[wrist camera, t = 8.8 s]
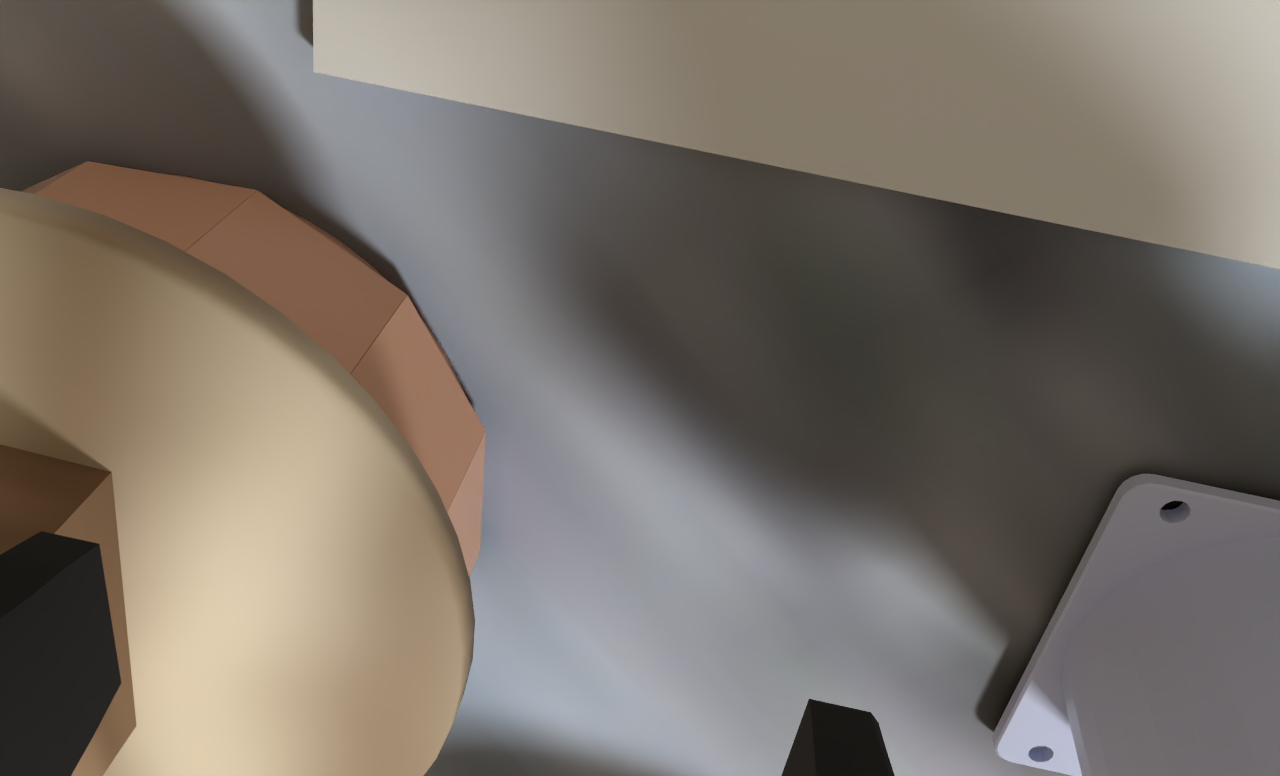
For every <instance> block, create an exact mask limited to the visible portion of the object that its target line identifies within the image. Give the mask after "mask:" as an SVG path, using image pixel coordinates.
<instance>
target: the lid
mask: <svg viewBox="0 0 1280 776" xmlns="http://www.w3.org/2000/svg"><path fill="white" fill-rule="evenodd" d="M41 531H43V532H48V533H52V534H57V535H62V536H66V537H71V538H75V539H80V540H84V541H89V542H94V543H98V544H100V550H101V556H102V563H103V569H104V575H105V582H106V588H107V594H108V601H109V607H110V613H111V620H112V626H113V633H114V639H115V645H116V652H117V658H118V664H119V671H120V677H121V685H120V687H119V689H118V691H117V692H116V694H115V696H114V698H113V700H112V702H111V704H110V706H109V708H108V710H107V711H106V713H105V715H104V717H103V719H102V721H101V723H100V725H99V727H98V729H97V730H96V732H95V734H94V736H93V738H92V740H91V741H90V743H89V745H88V747H87V748H86V750H85V752H84V754H83V756H82V757H81V759H80V761H79V763H78V764H77V766H76V768H75V770H74V771H73V773H72V775H71V776H424V774H425V773H426V772H427V771H428V769H429V768H430V767H431V765H432V764H433V763H434V761H435V760H436V758H437V756H438V754H439V752H440V750H441V748H442V746H443V744H444V742H445V740H446V738H447V736H448V733H449V731H450V729H451V727H452V724H453V721H454V719H455V716H456V713H457V711H458V708H459V705H460V702H461V700H462V697H463V694H464V691H465V687H466V683H467V679H468V675H469V671H470V667H471V663H472V659H473V644H474V627H475V618H474V609H473V601H472V592H471V583H470V578H469V574H468V571H467V567H466V564H465V560H464V557H463V553H462V549H461V546H460V542H459V539H458V536H457V533H456V531H455V529H454V527H453V524H452V522H451V520H450V518H449V515H448V513H447V511H446V508H445V506H444V504H443V502H442V499H441V497H440V495H439V493H438V491H437V489H436V487H435V486H434V484H433V482H432V481H431V479H430V477H429V476H428V474H427V472H426V471H425V469H424V467H423V466H422V464H421V462H420V461H419V459H418V458H417V456H416V454H415V453H414V451H413V449H412V448H411V446H410V444H409V443H408V442H407V441H406V439H405V438H404V437H403V435H402V434H401V433H400V432H399V430H398V429H397V428H396V426H395V425H394V424H393V423H392V421H391V420H390V419H389V417H388V416H387V415H386V414H385V412H384V411H383V410H382V408H381V407H380V406H379V405H378V403H377V402H376V401H375V399H374V398H373V397H372V396H371V395H370V394H369V393H368V392H367V391H366V390H365V389H364V388H363V387H362V386H361V385H360V384H359V383H358V382H357V381H356V380H355V379H354V378H353V377H352V376H351V374H350V373H349V372H348V371H347V370H346V369H345V368H344V367H343V366H342V365H341V364H340V363H339V362H338V361H337V360H336V359H335V358H334V357H333V356H332V355H331V354H330V353H329V352H328V351H327V350H325V349H324V348H323V347H322V346H321V345H319V344H318V343H317V342H316V341H315V340H313V339H312V338H311V337H310V336H309V335H308V334H306V333H305V332H304V331H303V330H302V329H300V328H299V327H298V326H297V325H296V324H294V323H293V322H292V321H291V320H290V319H289V318H287V317H286V316H285V315H284V314H283V313H281V312H280V311H279V310H277V309H276V308H274V307H273V306H271V305H270V304H268V303H267V302H265V301H264V300H263V299H261V298H260V297H258V296H257V295H255V294H254V293H252V292H251V291H249V290H248V289H247V288H245V287H244V286H242V285H241V284H239V283H238V282H236V281H235V280H233V279H232V278H230V277H229V276H228V275H226V274H225V273H223V272H221V271H219V270H217V269H215V268H214V267H212V266H210V265H208V264H206V263H204V262H203V261H201V260H199V259H197V258H195V257H194V256H192V255H190V254H188V253H186V252H184V251H183V250H181V249H179V248H177V247H175V246H173V245H172V244H170V243H168V242H166V241H164V240H162V239H159V238H157V237H155V236H152V235H150V234H148V233H145V232H143V231H141V230H138V229H136V228H133V227H131V226H129V225H126V224H124V223H122V222H119V221H117V220H115V219H112V218H110V217H108V216H105V215H103V214H100V213H96V212H93V211H90V210H87V209H83V208H80V207H77V206H73V205H70V204H67V203H63V202H60V201H57V200H54V199H50V198H47V197H44V196H40V195H36V194H31V193H25V192H20V191H14V190H9V189H3V188H0V555H1V554H2V553H4V552H6V551H7V550H9V549H11V548H13V547H14V546H16V545H18V544H19V543H21V542H23V541H25V540H26V539H28V538H30V537H32V536H34V535H35V534H37V533H39V532H41Z"/></svg>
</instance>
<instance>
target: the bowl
mask: <svg viewBox="0 0 1280 776" xmlns="http://www.w3.org/2000/svg"><path fill="white" fill-rule="evenodd" d="M20 192H25V193H31V194H36V195H40V196H44V197H47V198H50V199H54V200H57V201H60V202H63V203H67V204H70V205H73V206H77V207H80V208H83V209H87V210H90V211H93V212H96V213H100V214H103V215H105V216H108V217H110V218H112V219H115V220H117V221H119V222H122V223H124V224H126V225H129V226H131V227H133V228H136V229H138V230H141V231H143V232H145V233H148V234H150V235H152V236H155V237H157V238H159V239H162V240H164V241H166V242H168V243H170V244H172V245H173V246H175V247H177V248H179V249H181V250H183V251H184V252H186V253H188V254H190V255H192V256H194V257H195V258H197V259H199V260H201V261H203V262H204V263H206V264H208V265H210V266H212V267H214V268H215V269H217V270H219V271H221V272H223V273H225V274H226V275H228V276H229V277H230V278H232V279H233V280H235V281H236V282H238V283H239V284H241V285H242V286H244V287H245V288H247V289H248V290H249V291H251V292H252V293H254V294H255V295H257V296H258V297H260V298H261V299H263V300H264V301H265V302H267V303H268V304H270V305H271V306H273V307H274V308H276V309H277V310H279V311H280V312H281V313H283V314H284V315H285V316H286V317H287V318H289V319H290V320H291V321H292V322H293V323H294V324H296V325H297V326H298V327H299V328H300V329H302V330H303V331H304V332H305V333H306V334H308V335H309V336H310V337H311V338H312V339H313V340H315V341H316V342H317V343H318V344H319V345H321V346H322V347H323V348H324V349H325V350H327V351H328V352H329V353H330V354H331V355H332V356H333V357H334V358H335V359H336V360H337V361H338V362H339V363H340V364H341V365H342V366H343V367H344V368H345V369H346V370H347V371H348V372H349V373H350V374H351V376H352V377H353V378H354V379H355V380H356V381H357V382H358V383H359V384H360V385H361V386H362V387H363V388H364V389H365V390H366V391H367V392H368V393H369V394H370V395H371V396H372V397H373V398H374V399H375V401H376V402H377V403H378V405H379V406H380V407H381V408H382V410H383V411H384V412H385V414H386V415H387V416H388V417H389V419H390V420H391V421H392V423H393V424H394V425H395V426H396V428H397V429H398V430H399V432H400V433H401V434H402V435H403V437H404V438H405V439H406V441H407V442H408V443H409V444H410V446H411V448H412V449H413V451H414V453H415V454H416V456H417V458H418V459H419V461H420V462H421V464H422V466H423V467H424V469H425V471H426V472H427V474H428V476H429V477H430V479H431V481H432V482H433V484H434V486H435V487H436V489H437V491H438V493H439V495H440V497H441V499H442V502H443V504H444V506H445V508H446V511H447V513H448V515H449V518H450V520H451V522H452V524H453V527H454V529H455V531H456V533H457V536H458V539H459V542H460V546H461V549H462V553H463V557H464V560H465V564H466V567H467V571H468V574H469V577H470V575H471V572H472V570H473V568H474V565H475V563H476V560H477V558H478V555H479V553H480V544H481V522H482V500H483V478H484V456H485V435H486V431H485V429H484V427H483V425H482V424H481V422H480V420H479V418H478V417H477V415H476V413H475V411H474V410H473V408H472V406H471V404H470V403H469V401H468V399H467V398H466V396H465V394H464V391H463V388H462V386H461V384H460V382H459V380H458V378H457V376H456V374H455V372H454V369H453V367H452V365H451V363H450V361H449V359H448V357H447V355H446V354H445V352H444V351H443V349H442V348H441V346H440V345H439V343H438V342H437V340H436V339H435V337H434V335H433V334H432V332H431V331H430V329H429V328H428V326H427V325H426V323H425V322H424V321H423V320H422V319H421V317H420V316H419V314H418V312H417V311H416V309H415V307H414V305H413V304H412V302H411V300H410V298H409V297H408V295H407V294H406V293H404V292H403V291H401V290H400V289H399V288H397V287H396V286H394V285H393V284H391V283H390V282H389V281H387V280H386V279H385V278H384V277H383V276H382V275H381V274H380V273H379V272H378V271H377V270H376V269H375V268H374V267H373V266H372V265H370V264H369V263H368V262H366V261H365V260H364V259H363V258H361V257H360V256H359V255H357V254H356V253H355V252H354V251H352V250H351V249H350V248H348V247H347V246H346V245H345V244H343V243H342V242H341V241H339V240H338V239H336V238H335V237H333V236H332V235H330V234H328V233H327V232H325V231H324V230H322V229H320V228H319V227H317V226H316V225H314V224H312V223H311V222H309V221H307V220H306V219H304V218H303V217H301V216H298V215H296V214H294V213H292V212H290V211H288V210H286V209H284V208H282V207H281V206H279V205H278V204H277V203H275V202H274V201H272V200H271V199H269V198H268V197H267V196H265V195H264V194H262V193H261V192H259V191H258V190H254V189H249V188H243V187H237V186H231V185H225V184H219V183H214V182H210V181H205V180H201V179H197V178H192V177H188V176H181V175H171V174H162V173H154V172H149V171H143V170H137V169H131V168H125V167H119V166H113V165H107V164H101V163H96V162H90V161H86V162H84V163H82V164H80V165H78V166H75V167H73V168H71V169H69V170H66V171H64V172H62V173H60V174H57V175H55V176H53V177H51V178H48V179H46V180H44V181H42V182H40V183H37V184H35V185H33V186H31V187H28V188H26V189H24V190H22V191H20Z"/></svg>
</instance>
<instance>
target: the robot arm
mask: <svg viewBox="0 0 1280 776" xmlns="http://www.w3.org/2000/svg"><path fill="white" fill-rule="evenodd" d="M1171 501H1182V502H1183V503H1182V504H1181V505H1180V506H1179V507H1177V508H1175V509H1172V510H1163V509H1161V508H1162V507H1163V506H1164V505H1165V504H1166V503H1169V502H1171ZM120 685H121V677H120V671H119V664H118V658H117V652H116V645H115V639H114V633H113V626H112V620H111V613H110V607H109V601H108V594H107V588H106V582H105V575H104V569H103V563H102V556H101V550H100V544H98V543H94V542H89V541H84V540H80V539H75V538H71V537H66V536H62V535H57V534H52V533H48V532H43V531H41V532H39V533H37V534H35V535H34V536H32V537H30V538H28V539H26V540H25V541H23V542H21V543H19V544H18V545H16V546H14V547H13V548H11V549H9V550H7V551H6V552H4V553H2V554H1V555H0V776H71V775H72V773H73V771H74V770H75V768H76V766H77V764H78V763H79V761H80V759H81V757H82V756H83V754H84V752H85V750H86V748H87V747H88V745H89V743H90V741H91V740H92V738H93V736H94V734H95V732H96V730H97V729H98V727H99V725H100V723H101V721H102V719H103V717H104V715H105V713H106V711H107V710H108V708H109V706H110V704H111V702H112V700H113V698H114V696H115V694H116V692H117V691H118V689H119V687H120ZM993 742H994V748H995V750H996V753H997V754H998V755H999V756H1000V757H1001V758H1002V759H1005V760H1007V761H1010V762H1014V763H1018V764H1023V765H1027V766H1032V767H1036V768H1040V769H1045V770H1049V771H1054V772H1058V773H1063V774H1067V775H1072V776H1280V501H1278V500H1274V499H1269V498H1264V497H1260V496H1255V495H1250V494H1245V493H1241V492H1236V491H1231V490H1227V489H1222V488H1217V487H1212V486H1208V485H1203V484H1198V483H1194V482H1189V481H1184V480H1179V479H1175V478H1170V477H1165V476H1161V475H1156V474H1140V475H1136V476H1132V477H1130V478H1129V479H1127V480H1125V481H1124V482H1123V483H1122V484H1121V485H1120V486H1119V488H1118V489H1117V491H1116V493H1115V495H1114V497H1113V498H1112V500H1111V502H1110V504H1109V506H1108V508H1107V510H1106V512H1105V514H1104V516H1103V518H1102V520H1101V522H1100V524H1099V526H1098V528H1097V530H1096V532H1095V534H1094V536H1093V538H1092V540H1091V542H1090V544H1089V546H1088V548H1087V550H1086V552H1085V554H1084V556H1083V557H1082V559H1081V561H1080V563H1079V565H1078V567H1077V569H1076V571H1075V573H1074V575H1073V577H1072V579H1071V581H1070V583H1069V585H1068V587H1067V589H1066V591H1065V593H1064V595H1063V597H1062V599H1061V601H1060V603H1059V605H1058V607H1057V609H1056V611H1055V613H1054V614H1053V616H1052V618H1051V620H1050V622H1049V624H1048V626H1047V628H1046V630H1045V632H1044V634H1043V636H1042V638H1041V640H1040V642H1039V644H1038V646H1037V648H1036V650H1035V652H1034V654H1033V656H1032V658H1031V660H1030V662H1029V664H1028V666H1027V668H1026V670H1025V672H1024V673H1023V675H1022V677H1021V679H1020V681H1019V683H1018V685H1017V687H1016V689H1015V691H1014V693H1013V695H1012V697H1011V699H1010V701H1009V703H1008V705H1007V707H1006V709H1005V711H1004V713H1003V715H1002V717H1001V719H1000V721H999V723H998V725H997V727H996V729H995V731H994V734H993ZM1037 746H1044V747H1041V748H1037ZM782 776H894V773H893V770H892V767H891V764H890V760H889V757H888V754H887V751H886V747H885V744H884V741H883V737H882V734H881V730H880V727H879V723H878V722H877V720H876V719H875V718H874V716H873V715H872V713H871V712H866V711H862V710H857V709H853V708H848V707H844V706H839V705H834V704H830V703H825V702H821V701H816V700H812V699H809V701H808V704H807V706H806V709H805V712H804V715H803V718H802V720H801V723H800V726H799V729H798V731H797V734H796V737H795V740H794V743H793V745H792V748H791V751H790V754H789V757H788V759H787V762H786V765H785V768H784V771H783V773H782Z"/></svg>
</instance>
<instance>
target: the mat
mask: <svg viewBox="0 0 1280 776" xmlns="http://www.w3.org/2000/svg"><path fill="white" fill-rule="evenodd" d="M313 69H314V72H316V73H321V74H326V75H331V76H336V77H341V78H346V79H351V80H356V81H360V82H365V83H370V84H375V85H380V86H385V87H390V88H395V89H400V90H405V91H409V92H414V93H419V94H424V95H429V96H434V97H439V98H444V99H449V100H454V101H458V102H463V103H468V104H473V105H478V106H483V107H488V108H493V109H498V110H503V111H507V112H512V113H517V114H522V115H527V116H532V117H537V118H542V119H547V120H552V121H556V122H561V123H566V124H571V125H576V126H581V127H586V128H591V129H596V130H600V131H605V132H610V133H615V134H620V135H625V136H630V137H635V138H640V139H645V140H649V141H654V142H659V143H664V144H669V145H674V146H679V147H684V148H689V149H694V150H698V151H703V152H708V153H713V154H718V155H723V156H728V157H733V158H738V159H743V160H747V161H752V162H757V163H762V164H767V165H772V166H777V167H782V168H787V169H792V170H796V171H801V172H806V173H811V174H816V175H821V176H826V177H831V178H836V179H841V180H845V181H850V182H855V183H860V184H865V185H870V186H875V187H880V188H885V189H890V190H894V191H899V192H904V193H909V194H914V195H919V196H924V197H929V198H934V199H939V200H943V201H948V202H953V203H958V204H963V205H968V206H973V207H978V208H983V209H987V210H992V211H997V212H1002V213H1007V214H1012V215H1017V216H1022V217H1027V218H1032V219H1036V220H1041V221H1046V222H1051V223H1056V224H1061V225H1066V226H1071V227H1076V228H1081V229H1085V230H1090V231H1095V232H1100V233H1105V234H1110V235H1115V236H1120V237H1125V238H1130V239H1134V240H1139V241H1144V242H1149V243H1154V244H1159V245H1164V246H1169V247H1174V248H1179V249H1183V250H1188V251H1193V252H1198V253H1203V254H1208V255H1213V256H1218V257H1223V258H1228V259H1232V260H1237V261H1242V262H1247V263H1252V264H1257V265H1262V266H1267V267H1272V268H1277V269H1280V0H313Z"/></svg>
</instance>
